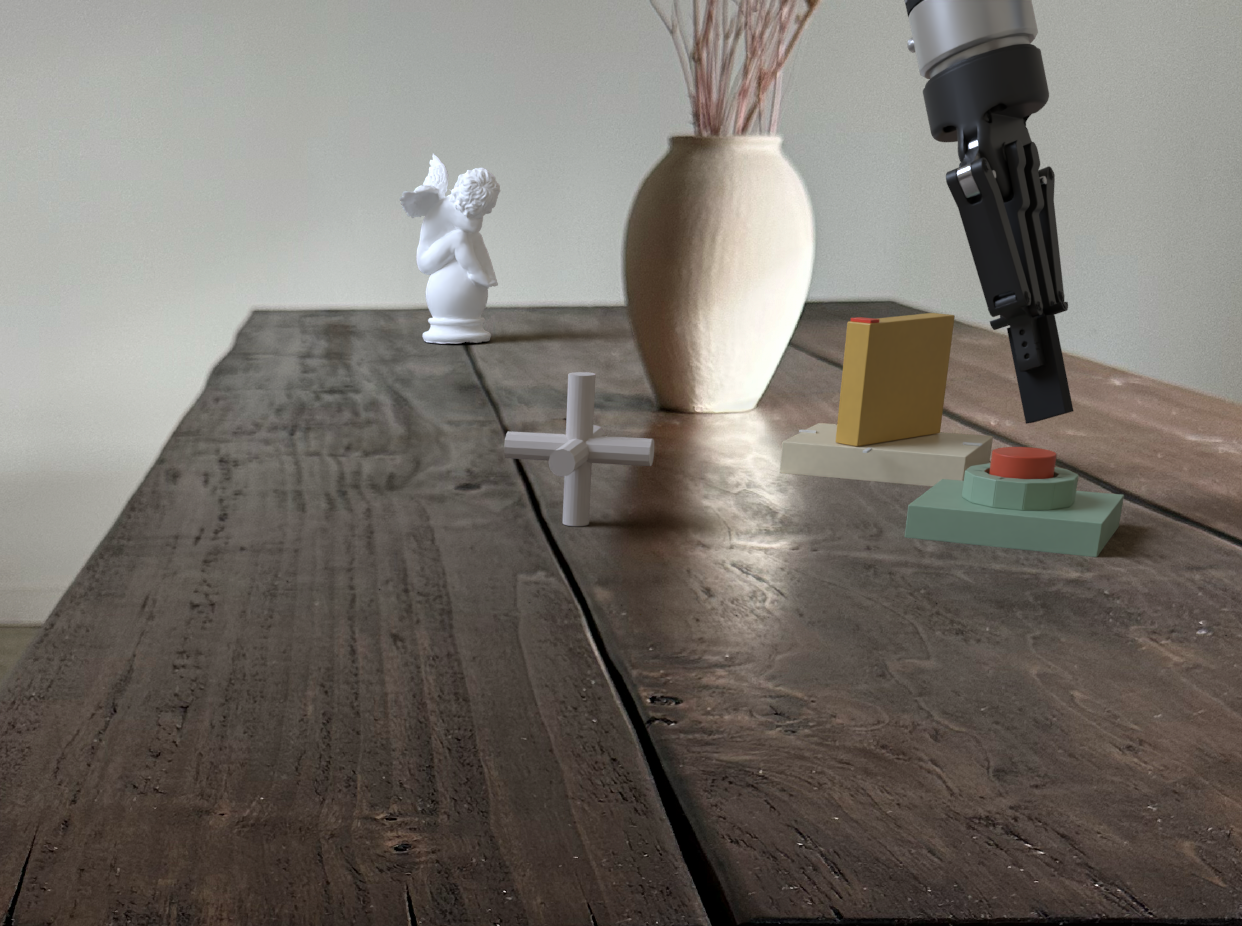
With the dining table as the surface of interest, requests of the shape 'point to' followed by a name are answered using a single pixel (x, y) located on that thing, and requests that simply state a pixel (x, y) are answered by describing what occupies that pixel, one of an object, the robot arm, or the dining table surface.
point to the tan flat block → (893, 378)
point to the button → (1023, 463)
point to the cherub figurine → (454, 251)
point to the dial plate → (884, 457)
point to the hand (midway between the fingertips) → (1049, 417)
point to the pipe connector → (578, 448)
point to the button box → (1016, 513)
